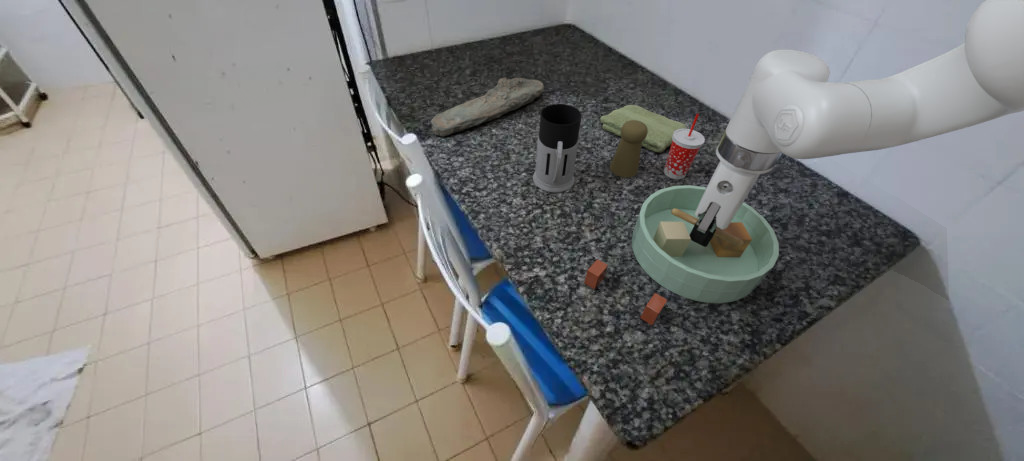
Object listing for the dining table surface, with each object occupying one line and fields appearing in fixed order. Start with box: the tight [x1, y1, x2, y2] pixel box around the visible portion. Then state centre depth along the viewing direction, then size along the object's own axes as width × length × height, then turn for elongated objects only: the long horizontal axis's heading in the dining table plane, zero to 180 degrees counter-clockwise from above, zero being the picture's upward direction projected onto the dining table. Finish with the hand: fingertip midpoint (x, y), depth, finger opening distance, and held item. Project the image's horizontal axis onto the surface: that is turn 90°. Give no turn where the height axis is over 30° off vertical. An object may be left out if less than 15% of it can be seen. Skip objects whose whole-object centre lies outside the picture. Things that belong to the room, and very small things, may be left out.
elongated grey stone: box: [430, 77, 545, 138], centre depth 99 cm, size 35×5×10 cm
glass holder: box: [532, 103, 583, 193], centre depth 75 cm, size 9×14×15 cm, turn 175°
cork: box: [609, 120, 648, 179], centre depth 81 cm, size 6×6×11 cm
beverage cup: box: [663, 113, 706, 180], centre depth 79 cm, size 6×6×14 cm
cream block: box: [653, 222, 691, 257], centre depth 66 cm, size 4×4×4 cm
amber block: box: [710, 222, 752, 257], centre depth 66 cm, size 4×4×4 cm
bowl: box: [631, 184, 780, 304], centre depth 66 cm, size 22×22×6 cm
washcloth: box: [599, 104, 688, 153], centre depth 94 cm, size 13×18×3 cm
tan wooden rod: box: [671, 208, 744, 246], centre depth 64 cm, size 12×1×1 cm, turn 50°
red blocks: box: [584, 258, 668, 326], centre depth 60 cm, size 12×3×4 cm, turn 50°
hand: (699, 238), depth 66 cm, fingers closed on tan wooden rod, 1 cm apart
